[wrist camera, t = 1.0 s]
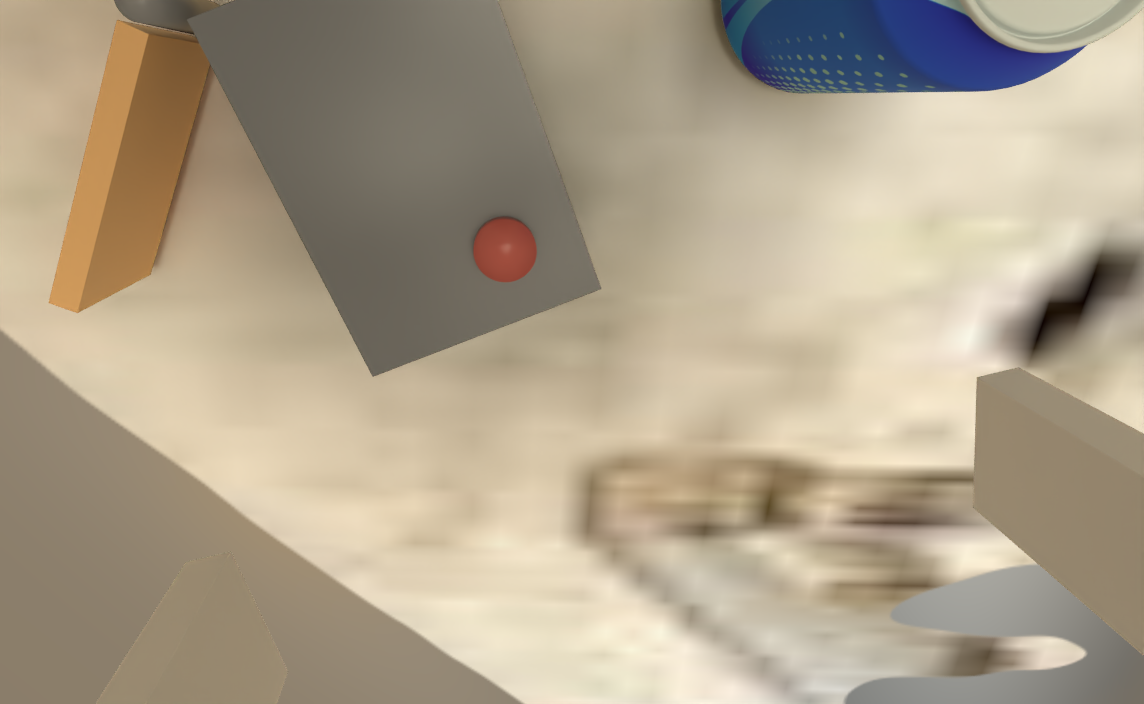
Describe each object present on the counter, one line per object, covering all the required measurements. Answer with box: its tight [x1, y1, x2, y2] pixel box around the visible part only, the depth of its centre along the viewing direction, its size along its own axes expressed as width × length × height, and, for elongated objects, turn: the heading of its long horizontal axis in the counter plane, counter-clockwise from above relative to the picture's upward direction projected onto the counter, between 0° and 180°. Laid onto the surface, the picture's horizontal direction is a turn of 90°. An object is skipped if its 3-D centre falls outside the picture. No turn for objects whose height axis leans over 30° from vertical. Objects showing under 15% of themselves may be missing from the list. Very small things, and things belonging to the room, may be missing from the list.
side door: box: [49, 0, 220, 313], centre depth 27 cm, size 12×2×6 cm, turn 155°
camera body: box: [187, 0, 601, 376], centre depth 28 cm, size 15×10×8 cm, turn 20°
